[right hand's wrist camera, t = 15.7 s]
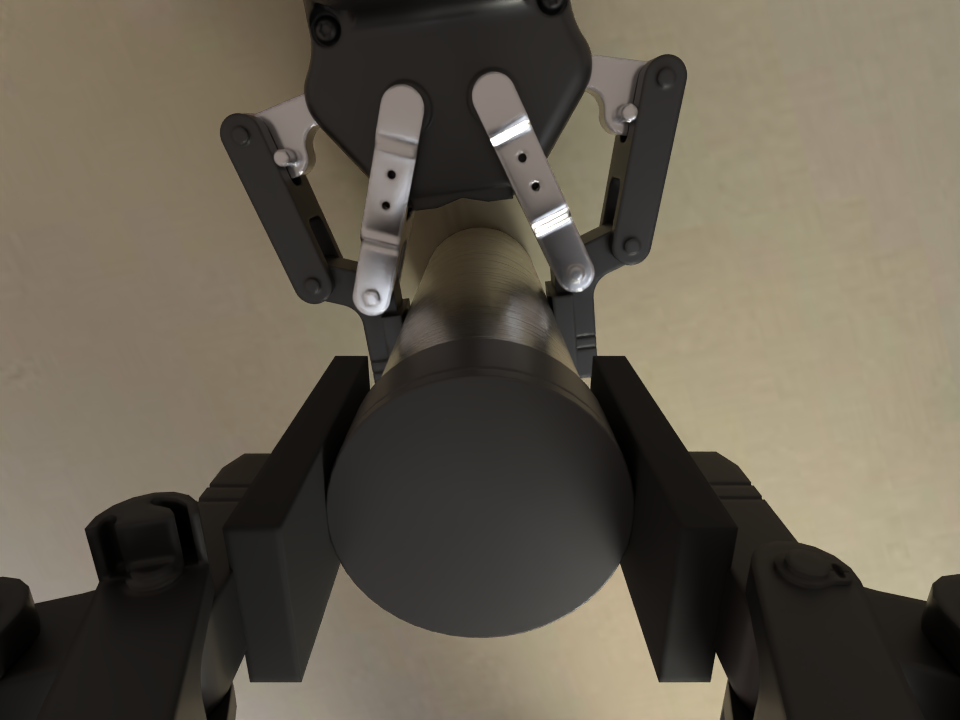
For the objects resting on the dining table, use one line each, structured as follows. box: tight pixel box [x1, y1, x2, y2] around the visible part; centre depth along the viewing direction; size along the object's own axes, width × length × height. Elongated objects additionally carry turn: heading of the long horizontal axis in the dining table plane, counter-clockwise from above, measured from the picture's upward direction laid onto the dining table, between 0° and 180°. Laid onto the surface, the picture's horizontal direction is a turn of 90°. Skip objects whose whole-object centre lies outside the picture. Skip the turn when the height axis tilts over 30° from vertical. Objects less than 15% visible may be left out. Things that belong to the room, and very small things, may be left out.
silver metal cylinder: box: [382, 227, 580, 378], centre depth 19 cm, size 5×5×17 cm
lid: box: [326, 338, 635, 638], centre depth 11 cm, size 5×5×2 cm
